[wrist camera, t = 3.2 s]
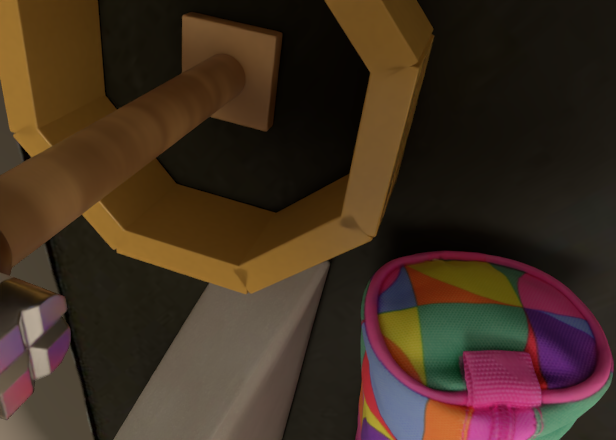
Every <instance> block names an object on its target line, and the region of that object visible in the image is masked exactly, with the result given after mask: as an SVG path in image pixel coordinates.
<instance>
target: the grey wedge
mask: <svg viewBox="0 0 616 440" xmlns="http://www.w3.org/2000/svg"><path fill="white" fill-rule="evenodd" d="M329 267H330V262H329V261H328V260H327V261H324V262H322V263H320V264H318V265H315V266H313V267H311V268H309V269H306V270H304V271H302V272H300V273H297V274H295V275H293V276H291V277H288V278H286V279H284V280H282V281H279V282H277V283H275V284H273V285H270V286H268V287H266V288H264V289H261V290H259V291H257V292H254V293H252V294H250V293H249V292H248V293H247V294H243V293H240V292H237V291H234V290H230V289H227V288H224V287H221V286H218V285H215V284H212V283H209V284H208V285H207V287H206V289H205V290H204V292H203V293H202V295H201V297H200V298H199V300H198V301H197V303H196V305H195V306H194V308H193V309H192V311H191V313H190V314H189V316H188V318H187V319H186V321H185V323H184V324H183V326H182V328H181V329H180V331H179V332H178V334H177V336H176V337H175V339H174V341H173V342H172V344H171V346H170V347H169V349H168V350H167V352H166V354H165V355H164V357H163V359H162V360H161V362H160V364H159V365H158V367H157V369H156V370H155V372H154V373H153V375H152V377H151V378H150V380H149V382H148V383H147V385H146V387H145V388H144V390H143V392H142V393H141V395H140V397H139V398H138V400H137V402H136V403H135V405H134V407H133V408H132V410H131V412H130V413H129V415H128V417H127V418H126V420H125V421H124V423H123V425H122V426H121V428H120V430H119V431H118V433H117V435H116V436H115V438H114V440H282V438H283V434H284V430H285V427H286V423H287V419H288V416H289V412H290V408H291V405H292V401H293V397H294V394H295V390H296V386H297V383H298V379H299V375H300V372H301V368H302V364H303V360H304V356H305V352H306V349H307V345H308V341H309V337H310V334H311V330H312V327H313V323H314V319H315V316H316V312H317V309H318V305H319V302H320V298H321V295H322V291H323V288H324V284H325V281H326V277H327V274H328V270H329Z"/></svg>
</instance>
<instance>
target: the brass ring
mask: <svg viewBox="0 0 616 440" xmlns="http://www.w3.org/2000/svg"><path fill="white" fill-rule="evenodd" d="M324 1H325V2H326V4H327V5H328V7H329V9H330V10H331V12H332V13H333V15H334V16H335V18H336V20H337V21H338V23H339V24H340V26H341V27H342V29H343V31H344V32H345V34H346V35H347V37H348V38H349V40H350V42H351V43H352V45H353V46H354V48H355V49H356V51H357V53H358V54H359V56H360V57H361V59H362V60H363V62H364V64H365V65H366V67H367V68H368V70H369V71H370V77H369V82H368V86H367V91H366V96H365V101H364V106H363V111H362V115H361V120H360V125H359V130H358V135H357V139H356V144H355V149H354V154H353V159H352V164H351V168H350V173H349V174H348V175H346V176H344V177H342V178H340V179H339V180H337V181H335V182H333V183H331V184H329V185H327V186H325V187H324V188H322V189H320V190H318V191H316V192H314V193H312V194H311V195H309V196H307V197H305V198H303V199H301V200H299V201H297V202H296V203H294V204H292V205H290V206H288V207H286V208H284V209H283V210H281V211H279V212H277V213H275V212H272V211H268V210H265V209H261V208H258V207H255V206H251V205H248V204H244V203H241V202H237V201H234V200H231V199H227V198H224V197H220V196H217V195H213V194H210V193H207V192H203V191H200V190H196V189H193V188H189V187H186V186H183V185H179V184H176V182H175V181H174V180H173V179H172V177H171V176H170V175H169V174H168V173H167V171H166V170H165V169H164V168H163V166H162V165H161V164H160V163H159V161H158V160H157V159H156V158H155V159H154V160H152V161H151V162H150V163H148V164H147V165H146V166H144V167H143V168H142V169H141V170H139V171H138V172H137V173H135V174H134V175H133V176H131V177H130V178H129V179H127V180H126V181H125V182H124V183H122V184H121V185H120V186H118V187H117V188H116V189H114V190H113V191H112V192H110V193H109V194H108V195H107V196H105V197H104V198H103V199H101V200H100V201H99V202H97V203H96V204H95V205H93V206H92V207H91V208H90V209H88V210H87V211H86V212H84V213H83V214H82V215H83V216H84V217H85V218H86V220H87V221H88V222H89V223H90V224H91V225H92V226H93V228H94V229H95V230H96V231H97V232H98V233H99V234H100V235H101V237H102V238H103V239H104V240H105V241H106V242H107V243H108V245H109V246H110V247H111V248H112V249H113V250H115V249H117V253H119V254H122V255H125V256H129V257H132V258H135V259H138V260H141V261H144V262H147V263H150V264H153V265H156V266H159V267H163V268H166V269H169V270H172V271H175V272H178V273H181V274H184V275H187V276H190V277H193V278H197V279H200V280H203V281H206V282H209V283H212V284H215V285H218V286H221V287H224V288H227V289H230V290H234V291H237V292H240V293H243V294H247V293H248V292H249V293H250V294H252V293H254V292H257V291H259V290H261V289H264V288H266V287H268V286H270V285H273V284H275V283H277V282H279V281H282V280H284V279H286V278H288V277H291V276H293V275H295V274H297V273H300V272H302V271H304V270H306V269H309V268H311V267H313V266H315V265H318V264H320V263H322V262H324V261H327V260H329V259H331V258H333V257H336V256H338V255H340V254H343V253H345V252H347V251H349V250H352V249H354V248H356V247H358V246H361V245H363V244H365V243H367V242H370V241H371V240H372V239H373V237H376V235H377V232H378V230H379V227H380V224H381V221H382V219H383V216H384V213H385V210H386V208H387V205H388V202H389V199H390V197H391V194H392V191H393V189H394V186H395V183H396V180H397V176H398V172H399V168H400V165H401V161H402V157H403V153H404V150H405V146H406V142H407V138H408V134H409V131H410V127H411V123H412V119H413V116H414V112H415V108H416V104H417V101H418V97H419V93H420V89H421V86H422V82H423V78H424V74H425V70H426V67H427V63H428V59H429V55H430V52H431V48H432V44H433V40H434V35H432V32H433V27H432V26H431V24H430V22H429V21H428V19H427V17H426V15H425V14H424V12H423V10H422V9H421V7H420V5H419V3H418V2H417V0H324ZM0 80H1V85H2V91H3V96H4V101H5V107H6V112H7V117H8V122H9V128H10V131H11V132H14V135H13V137H14V138H15V139H16V140H17V141H18V142H19V143H20V145H21V146H22V147H23V148H24V149H25V150H26V151H27V153H28V154H29V155H30V156H31V157H34V156H35V155H37V154H39V153H41V152H43V151H44V150H46V149H48V148H50V147H51V146H53V145H55V144H57V143H59V142H60V141H62V140H64V139H66V138H68V137H69V136H71V135H73V134H75V133H76V132H78V131H80V130H82V129H84V128H85V127H87V126H89V125H91V124H92V123H94V122H96V121H98V120H100V119H101V118H103V117H105V116H107V115H108V114H110V113H112V112H114V111H116V110H117V109H116V108H115V107H114V105H113V104H112V103H111V102H110V100H109V99H108V98H107V97H106V95H105V86H104V73H103V60H102V47H101V34H100V22H99V9H98V0H0Z"/></svg>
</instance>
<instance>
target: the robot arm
mask: <svg viewBox="0 0 616 440" xmlns="http://www.w3.org/2000/svg"><path fill="white" fill-rule="evenodd" d="M66 311H67V306H66V301H65V297H64V296H62V295H59V294H57V293H54V292H51V291H49V290H46V289H44V288H41V287H38V286H36V285H33V284H30V283H27V282H25V281H22V280H20V279H17V278H14V277H11V276H9V275H6V274H3V273H0V418H2V419H5V420H8V419H9V417H11V415H12V414H13V413H14V412H15V411H16V410H17V409H18V408H19V407H20V406H21V405H22V404H23V403H24V402H25V401H26V400H27V399H28V398H29V397H30V395H31V394H32V393H33V392H34V386H35V380H37V379H40V378H42V377H45V376H47V375H50V374H51V373H52V372H53V371H54V370H55V369H56V368H57V367H58V366H59V365H60V363H61V362H62V360H63V359H64V357H65V355H66V353H67V351H68V349H69V346H70V340H71V332H70V327H69V325H68V324H67V323H66V321H65V320H64V318H63V317H62V315H63V314H64V313H65V312H66Z"/></svg>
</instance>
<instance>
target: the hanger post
mask: <svg viewBox="0 0 616 440" xmlns="http://www.w3.org/2000/svg"><path fill="white" fill-rule="evenodd" d="M282 36H283V34H282V33H281V32H278V31H274V30H270V29H265V28H261V27H257V26H252V25H248V24H243V23H239V22H235V21H230V20H226V19H221V18H217V17H213V16H208V15H204V14H200V13H195V12H189V13H187V14H184V15H183V16H182V73H181V74H180V75H178V76H176V77H174V78H173V79H171V80H169V81H167V82H165V83H164V84H162V85H160V86H158V87H157V88H155V89H153V90H151V91H149V92H148V93H146V94H144V95H142V96H140V97H139V98H137V99H135V100H133V101H132V102H130V103H128V104H126V105H124V106H123V107H121V108H119V109H117V110H116V111H114V112H112V113H110V114H108V115H107V116H105V117H103V118H101V119H100V120H98V121H96V122H94V123H92V124H91V125H89V126H87V127H85V128H84V129H82V130H80V131H78V132H76V133H75V134H73V135H71V136H69V137H68V138H66V139H64V140H62V141H60V142H59V143H57V144H55V145H53V146H51V147H50V148H48V149H46V150H44V151H43V152H41V153H39V154H37V155H35V156H34V157H32V158H30V159H28V160H27V161H25V162H23V163H21V164H20V165H18V166H16V167H14V168H12V169H11V170H9V171H7V172H5V173H4V174H2V175H0V273H3V274H6V275H9V276H10V273H11V269H12V267H13V266H15V265H16V264H18V263H19V262H20V261H22V259H24V258H25V257H27V256H28V255H29V254H31V253H32V252H33V251H35V250H36V249H37V248H38V247H40V246H41V245H42V244H44V243H45V242H46V241H48V240H49V239H50V238H52V237H53V236H54V235H56V234H57V233H58V232H59V231H61V230H62V229H63V228H65V227H66V226H67V225H69V224H70V223H71V222H73V221H74V220H75V219H76V218H78V217H79V216H80V215H82V214H83V213H84V212H86V211H87V210H88V209H90V208H91V207H92V206H93V205H95V204H96V203H97V202H99V201H100V200H101V199H103V198H104V197H105V196H107V195H108V194H109V193H110V192H112V191H113V190H114V189H116V188H117V187H118V186H120V185H121V184H122V183H124V182H125V181H126V180H127V179H129V178H130V177H131V176H133V175H134V174H135V173H137V172H138V171H139V170H141V169H142V168H143V167H144V166H146V165H147V164H148V163H150V162H151V161H152V160H154V159H155V158H156V157H158V156H159V155H160V154H161V153H163V152H164V151H165V150H167V149H168V148H169V147H171V146H172V145H173V144H175V143H176V142H177V141H178V140H180V139H181V138H182V137H184V136H185V135H186V134H188V133H189V132H190V131H192V130H193V129H194V128H195V127H197V126H198V125H199V124H201V123H202V122H203V121H205V120H206V119H207V118H209V117H212V118H216V119H220V120H224V121H227V122H231V123H235V124H239V125H243V126H246V127H250V128H254V129H258V130H261V131H268V130H269V129H270V128H271V127H272V125H273V118H274V109H275V100H276V91H277V82H278V73H279V64H280V54H281V45H282Z"/></svg>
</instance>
